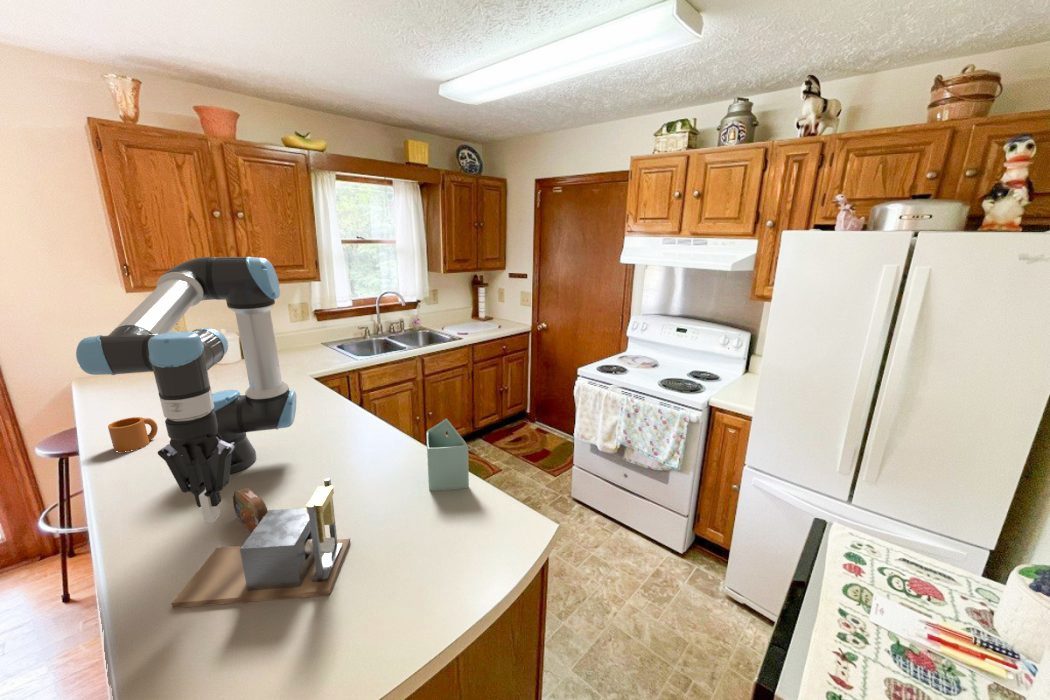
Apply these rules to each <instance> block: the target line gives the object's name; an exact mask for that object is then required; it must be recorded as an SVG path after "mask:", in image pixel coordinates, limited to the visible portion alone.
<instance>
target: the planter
mask: <svg viewBox="0 0 1050 700" xmlns="http://www.w3.org/2000/svg"><path fill="white" fill-rule="evenodd" d="M446 433H447V434H446ZM426 455H427V474H428V475H427V477H428V478H427V479H428V481H427V482H428V490H429V491H430V492H431V491H432V492H435V491H451V490H460V489H461V490H462V489H463V490H464V489H469V487H470V485H469V484H470V483H469V482H470V479H469V475H470V474H469V473H470V471H469V469H470V468H469V445H468V444H467V442H466V441H465V440H464V438H463V437H462V436H461V435H460V433H459V432H458V430H457V429H456V428H455V427H454V426H453V425H452V423H451V422H450V421H449V420H448V419H447V418H445V419H443V420H442V421H440V422H439V423H438V424H435V425H434V426H433V427H431V428H429V429H427V431H426Z"/></svg>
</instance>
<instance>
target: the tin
mask: <svg viewBox="0 0 1050 700" xmlns="http://www.w3.org/2000/svg"><path fill="white" fill-rule="evenodd" d="M232 503H233V508H234V511H235V514H236V517H237V519H238V520H239V522H240V523H242V525H244V526H245V528H247V529H248V531H249V532H250V533H252V532H253V531H254V529H255V528H256V527H257V525H258V524H259V523H260V521H261V520H262V519H263V517H264V516H265V515H266V514H267V512H268V511H269V510H268V507H267V505H266V503H265V502H264V500H263V499H262V498H261V497H260V496H259V495H258V494H256V493H255V492H254V491H253V490H251V488H248V487H245V488H244V487H243V488H241V489H239V490H235V491H234V492H233V494H232Z"/></svg>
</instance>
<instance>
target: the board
mask: <svg viewBox="0 0 1050 700" xmlns="http://www.w3.org/2000/svg"><path fill="white" fill-rule="evenodd" d="M337 543H338V544H340V543H342V549H341V551H340V553H339V556H338V558H337V560H336V563H335V565H334V567H333V570H332V572H331V575H330V577H329V579H328V581H324V582H312V578H313V576H314V574H315V572H316V567H315V559H314V560H313V562H312V564H311V566H310V568H309V570H308V572H307V574H306V576H305V578H304V580H303V582H302V584H301V587H291V588H278V589H266V590H253V591H247V585H246V580H245V574H244V569H243V563H242V558H241V552H240V548H241V547H242V545H235V546H221V547H220V546H219V547H216V548H215V549H214V550H213V552H212V553H211V554H210V556H209V557H208V558H207V559H206V560H205V561H204V563H203V564H202V565H201V566H200V568H199V569H197V571H196V572H195V574H194V575H193V576H192V577H191V578H190V580H189V581H187V583H186V585H185V586H183V588H182V589H181V590H180V592H179V593H178V594H177V595H176V596H175V598H174V599H173V600H172V601H171V603H170V604H171V609H175V608H176V609H177V608H187V607H188V608H191V607H202V606H212V605H223V604H225V605H226V604H240V603H250V602H260V601H273V600H286V599H297V598H300V599H301V598H310V597H322V596H330V595H331V592H332V590H333V587H334V585H335V582H336V580H337V577H338V574H339V572H340V570H341V567H342V564H343V563H344V559H345V558H346V555H347V552H348V550H349V548H350V545H351V538H343V539H342V538H341V539H337ZM323 555H324V553H322V554H321V556H322V557H323Z"/></svg>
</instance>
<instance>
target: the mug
mask: <svg viewBox="0 0 1050 700" xmlns="http://www.w3.org/2000/svg"><path fill="white" fill-rule="evenodd" d="M146 425H149V426H150V432H149V433H148V431H147V427H146ZM107 428H108V433H109V437H110V440H111V443H112V447H113V450H115V451H118V452H125V451H131V450H135V451H137V450H136V449H138V450H140V449H139V448H141V449H143V448H145V447H147V446H148V445H149V444H150V441H152V440H153V439H154V438H155V437H156V436H157V433H158V424H157V422H156V421H155V420H154V419H152V418H149V417H142V416H141V417H140V416H138V417H137V416H133V417H127V418H121V419H117V420H115V421H113V422H111V423H109V424H108V425H107ZM151 439H152V440H151ZM149 440H150V441H149ZM147 444H148V445H147ZM146 445H147V446H146ZM144 446H145V447H144ZM142 447H143V448H142ZM115 451H114V452H115ZM131 452H132V451H131Z"/></svg>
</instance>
